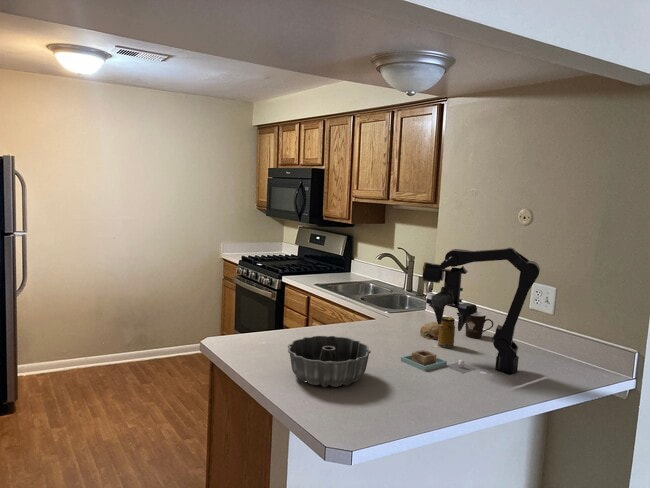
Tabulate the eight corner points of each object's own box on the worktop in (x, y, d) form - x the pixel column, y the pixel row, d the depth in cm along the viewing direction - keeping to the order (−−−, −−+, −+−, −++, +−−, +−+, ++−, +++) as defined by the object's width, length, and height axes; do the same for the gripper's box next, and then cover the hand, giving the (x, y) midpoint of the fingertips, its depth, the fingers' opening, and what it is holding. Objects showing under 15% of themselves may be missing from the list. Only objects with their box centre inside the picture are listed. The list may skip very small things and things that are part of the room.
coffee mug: (458, 334, 223) (460, 311, 222) (474, 332, 227) (476, 310, 226) (477, 342, 213) (479, 318, 211) (493, 340, 216) (495, 317, 215)
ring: (435, 364, 182) (436, 354, 182) (423, 367, 178) (424, 357, 178) (423, 359, 187) (423, 349, 186) (411, 362, 183) (411, 352, 183)
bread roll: (418, 345, 217) (418, 330, 213) (421, 329, 226) (422, 314, 222) (442, 348, 215) (443, 333, 211) (445, 332, 223) (445, 317, 219)
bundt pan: (295, 396, 151) (297, 363, 150) (279, 365, 176) (280, 336, 175) (380, 391, 158) (382, 359, 157) (353, 361, 183) (354, 334, 182)
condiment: (444, 344, 208) (446, 314, 207) (461, 350, 202) (464, 319, 201) (432, 347, 204) (434, 317, 202) (450, 353, 197) (452, 322, 196)
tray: (446, 367, 182) (446, 361, 181) (424, 372, 175) (424, 366, 175) (422, 357, 191) (423, 352, 190) (400, 362, 184) (401, 356, 184)
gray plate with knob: (477, 370, 179) (478, 362, 179) (462, 374, 175) (463, 366, 174) (459, 363, 186) (459, 355, 185) (444, 367, 181) (444, 359, 181)
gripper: (417, 281, 187) (414, 323, 189) (458, 291, 172) (454, 337, 174) (438, 279, 194) (435, 320, 196) (479, 289, 179) (476, 333, 181)
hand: (449, 327), depth 186 cm, fingers open, 9 cm apart
